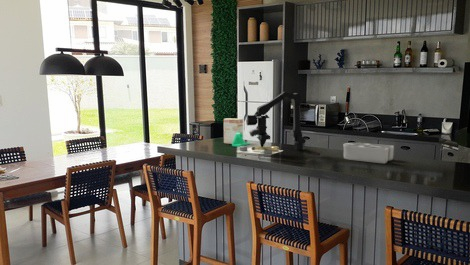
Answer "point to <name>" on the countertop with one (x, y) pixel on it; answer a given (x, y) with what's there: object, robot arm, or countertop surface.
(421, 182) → the countertop surface
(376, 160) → the ice cube tray
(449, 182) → the countertop surface
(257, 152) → the leveling plate
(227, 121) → the coffeecake box
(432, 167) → the countertop surface
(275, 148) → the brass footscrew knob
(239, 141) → the green tapered piece
